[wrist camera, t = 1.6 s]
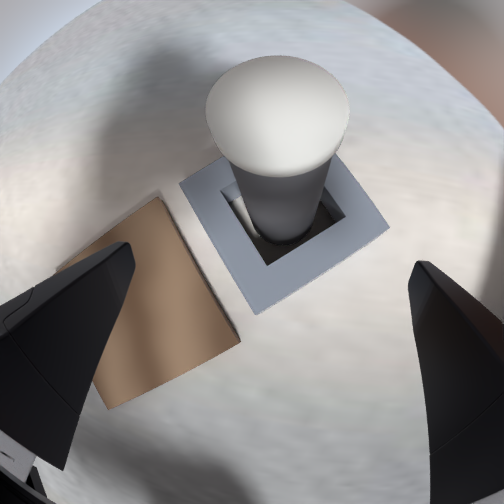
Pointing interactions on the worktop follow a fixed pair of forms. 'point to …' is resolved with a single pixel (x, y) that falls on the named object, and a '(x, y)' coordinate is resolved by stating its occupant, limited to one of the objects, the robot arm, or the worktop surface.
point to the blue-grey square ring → (298, 260)
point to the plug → (278, 138)
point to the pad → (157, 310)
